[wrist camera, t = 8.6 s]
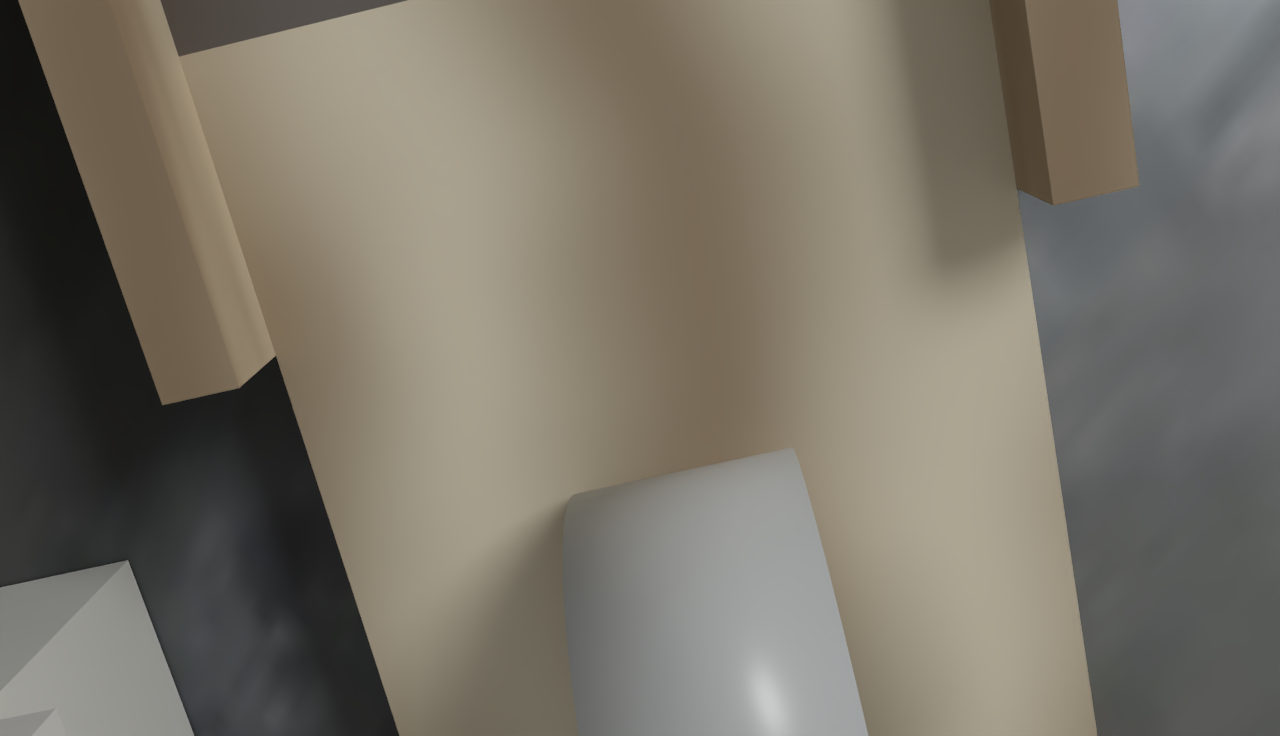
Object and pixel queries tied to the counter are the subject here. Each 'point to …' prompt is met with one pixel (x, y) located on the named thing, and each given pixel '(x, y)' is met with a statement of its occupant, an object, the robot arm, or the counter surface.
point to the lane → (623, 299)
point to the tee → (87, 656)
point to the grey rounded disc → (705, 607)
